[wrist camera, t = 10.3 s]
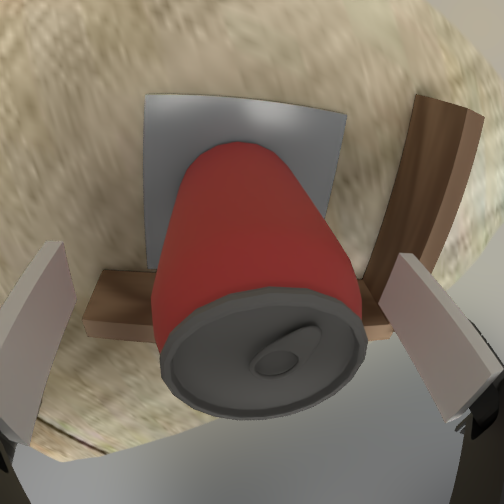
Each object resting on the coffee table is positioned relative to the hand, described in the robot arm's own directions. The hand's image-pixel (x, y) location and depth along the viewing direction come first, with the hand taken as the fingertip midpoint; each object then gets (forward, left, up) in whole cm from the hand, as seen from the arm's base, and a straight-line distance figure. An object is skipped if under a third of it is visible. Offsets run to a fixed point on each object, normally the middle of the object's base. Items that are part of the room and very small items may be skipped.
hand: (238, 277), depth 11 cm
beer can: (0, 0, -8) cm, 8 cm away
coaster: (0, 0, -8) cm, 8 cm away
